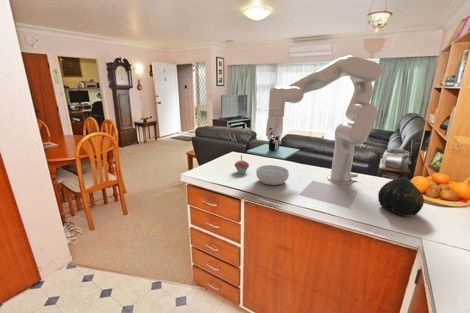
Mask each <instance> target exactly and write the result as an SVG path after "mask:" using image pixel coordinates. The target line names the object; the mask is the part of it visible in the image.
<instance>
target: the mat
mask: <svg viewBox="0 0 470 313" xmlns="http://www.w3.org/2000/svg"><path fill="white" fill-rule="evenodd" d="M357 193H358V190H356V189H352V188H347V187H342V186H339V185H334V184H329V183H324V182H321V181H315V180H312V181H311V182H310V183H309V184H308V185H307V186H305V188H303V190H302V191H301V192H299V194H298V196H301V197H305V198H309V199H312V200H317V201H320V202H324V203H328V204H332V205H335V206H340V207H343V208H348V209H351V207H352V205H353V202H354V200H355V198H356V195H357Z"/></svg>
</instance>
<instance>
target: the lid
mask: <svg viewBox="0 0 470 313" xmlns="http://www.w3.org/2000/svg"><path fill="white" fill-rule="evenodd" d="M299 152H300V149H299V148H298V149H297V148H292V147H285V146H280V145H279V149H278V140H275V151H270V150H269V143H264V144H261V145H259V146H256V147H254V148H251V149H248V150H246V153H248V154H252V155H253V154H254V155H258V156H263V157H268V158H269V157H270V158H274V159H280V160H286V159H288V158H289V157H292V156H293V155H295V154H297V153H299Z"/></svg>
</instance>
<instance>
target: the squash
mask: <svg viewBox="0 0 470 313" xmlns="http://www.w3.org/2000/svg"><path fill="white" fill-rule="evenodd" d="M377 194H378V195H377V196H378V197H377V198H378V202H379V205H380V206H381V208H383V209H386V210H387V211H391V212H392V211H393V212H394V213H397V214H398V215H399V216H400V217H401V216H402V217H408V216H414V215H417V214H418V213H419V212H420V211H421V210H423V209H422V208H423V206H424V203H425V201H424V200H425V199H424V195H423V193H422V192H421V190H420V189H419V188H418V187H417V186H416V185H415V184H414V183H413V182H412V181H411V180H410V179H409V178H407V177H406V176H401V177H398V178H397V177H396V178H395V179H392V180H390V181H388V182H386V183H385V184H384V185H382V187H380V190H379V191H378V193H377Z"/></svg>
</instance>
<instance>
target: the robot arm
mask: <svg viewBox="0 0 470 313" xmlns="http://www.w3.org/2000/svg"><path fill="white" fill-rule="evenodd" d="M382 74H383V68H382V66H381V64H379V63H378V62H376V61H373V60H369V59H366V58H362V57H360V56H356V55H355V56H354V55H347V56H343V57H339V58H337V59H334V60H333V61H331V62H329V63H328V64H326V65H325V66H323V67H321V68H320V69H319V68H318V69H317V70H316V71H314V72H312V73H310V74H308V75H306V76H304V77H302V78H300V79H298V80H297V81H295V82H293V83H291V84H290V85H288V86H286V87H283V86H272V87H270V89H269V99H268V100H269V101H268V117H267V122H266V130H265V136H266V137H267V138H266V139H267V140H268V145H269V150H270V151H275V140H278V149H279V146H280V140H281V136H282V134H283V130H284V117H285V106H286V105H285V104H286V103H291V104H297V103H299V102H301V101H302V100H303V99H304V96H305V94H307V93H309V92H312V91H317V90H321V89H323V88H325V87H327V86H328V85H330V84H332V83H334V82H336V81H338V80H339V79H341V78H342V77H349V78H350V80H351V82H352V84H353V88H354V90H353V93H352V96H351V98H350V100H349V104H348V106H347V108H346V110H345V117H346V119H348V120H349V121H352V122H353V123H351V122H342V123H339V124H338V125H337V127H336V128H335V130H334V150H333V151H334V152H333V156H332V157H333V158H332V163H331V164H332V165H331V171H330V172H331V173H330V174H329V175H328V176H327V177H326V178H327V180H328V181H329V182H331V183H334V184H337V185H350V184H352V183H353V178H358V177H359V176H358V174H357V173H352V165H353V160H354V155H355V146H360V145H362V144H364V143H365V142H366V141H367V139H368V138H369V136H370V134H371V131H372V129H373V127H374V125H375V123H376V120H377V118H378V110H377V107H376V106H375V105H374V104H373V103H371V100H372V98H373V93H374V87H373V82H376V81H378V80H379V79H380V78H381V76H382Z"/></svg>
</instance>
